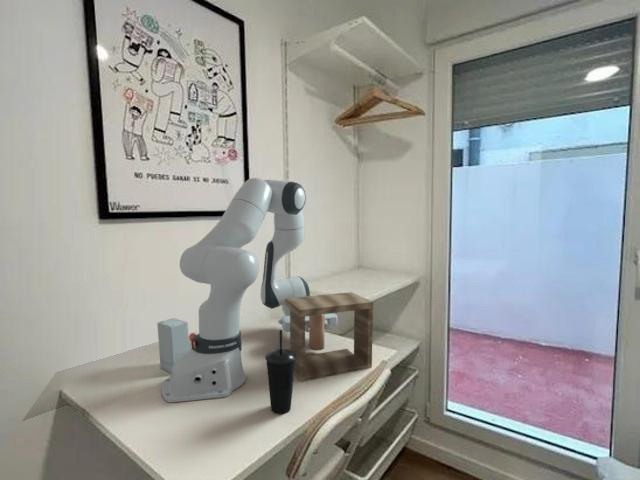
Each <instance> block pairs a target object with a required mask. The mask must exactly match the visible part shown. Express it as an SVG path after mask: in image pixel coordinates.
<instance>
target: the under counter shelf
mask: <svg viewBox="0 0 640 480" xmlns="http://www.w3.org/2000/svg"><path fill="white" fill-rule="evenodd" d="M285 305H286V306H287V307H289V308H290V332H289V350H291V351H293V352H295V353H296V355H297V357H296V359H295V367H294V375H295V376H294V377H296V378H297V380H298V381H299V382H305V381H310V380H316V379H321V378H326V377H331V376H335V375H340V374H346V373H351V372H354V371H355V372H356V371H361V370H366V369H371V368H373V366H372V365H373V333H374V332H373V330H374V329H373V323H374V322H373V320H374V319H373V318H374V301H372V300H370V299H368V298H366V297H363V296H361V295H359V294H357V293H354V292H352V291H349V292H348V291H347V292H339V293H330V294H329V293H327V294H320V295H310V296H306V297H296V298H286V299H285ZM345 312H353V313H354V314H353V315H354V317H353V320H354V322H353V323H354V324H353V327H354V328H353V352H352V351H350V349H348V348H343V349H337V350H332V351H326V352H321V353H320V352H318V353H315V354H308V355H306V331H305V316H313V315H322V314H330V313H334V314H336V313H345Z"/></svg>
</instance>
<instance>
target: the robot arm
mask: <svg viewBox="0 0 640 480" xmlns="http://www.w3.org/2000/svg"><path fill="white" fill-rule="evenodd" d="M306 196H307V195H306V191H305V189H304V187H303V186H302V184H301V183H298V182H295V181H283V180H276V179H264V180H263V179H261V178H259V177H258V178H257V177H252V178H249V179H247V180H246V181H245V182H244V183H243V184H242V185H241V187H240V188H238V190H237V192H236V193H235V194H234V196H233V198H232V200H231V201H230V203H229V205H228V206H227V207H226V210H225V211H224V213H223V214H222V216H221V218H220V220H219V221H218V222H217V223H216V225H215V226H214V227H213V228H212V229H211V230H210V231H209V232H208V233H207V234H206V235H205V236H204V237H203V238H202V239H201V240H199V241H198V242H196V243H195V244H194V245H192V246H190V247H188V248H186V249H185V250H184V251H183V252H182V254H181V256H180V259H179V269H180V271H181V273H182V274H183V276H185V277H186V278H188V279H189V280H192V281H194V282H196V283H199V284H207V285H210V291H209V296H208V298H207V299H206V300H205V301H203V302H202V303H201V304H200V305H199V308H198V333H197V334H196V333H194V332H191V333H189V334H188V337H189V342H191V343H190V345H191V349H190V348H189V351H188V352H187V353H185V354H184V355H183V356H182V357H181V358H179V359H178V360H177V361H176V362H175V363H174V365H173V368H172V371H171V373H170V375H169V376H168V377H166V378H165V379H164V381H163V382H162V384H161V385H162V386H161V396H162V397H161V398H162V399H163V400H165V401H166V403H178V402H188V401H197V400H199V401H200V400H208V399H217V398H219V399H220V398H227V397H228V396H230V395H231V393H232V392H233V391H234V390H236V389H238V388H239V387H241V386H242V385H243V384H244V383H245V382H246V379H247V376H246V374H245V371H244V370H245V369H244V366H243V360H242V344H243V342H242V341H243V340H242V339H243V337H242V332H241V329H240V316H241V315H240V314H241V310H240V309H241V304H242V299H243V296H244V294H245V293H246V290H247V289H248V288H249V287H250V286H251V285H253V284H254V283H255V281H256V280H257V278H258V275H259V272H260V265H259V260H258V257H257V256H256V254H254V253H253V252H251V251H249V250H246V249H244V248H242V247H244V246H246V245H248V244H251V242H252V241H254V239H255V238H256V235H257V233H258V232H259V230H260V228H261V226H262V223H263V221H264V220H265V217H266V215H267V213H272V214H273V215H274V217H273V224H274V228H273V229H274V232H273V236H272V238H271V240H270V241H269V242H268V243H267V245H266V248H265V254H264V262H263V264H264V266H263V274H262V282H261V286H260V287H261V288H260V300H261V303H262V305H264V306H265V307H267V308H269V309H270V310H271V309H272V310H273V309H275V308H279V307H280V306H281V310H282V312H283V314H284V316H283V317H282V318H280V319H278V321H277V323H279V325H281V328H282V331H284V332H286V333H290V308H289V307H287V306H286V305H285V299H286V298H296V297H306V296H311V293H310V287H309V285H308V283H307V281H306V280H305V279H304V278H303V277H301V276H293V277H289V278H284V279H279V280H276V276H277V275H276V274H277V265H278V263H279V261H280V260H281V259H282V258H283V257H284V256H285V255H287V254H289V253H291V252H293V251H294V250H296V249H298V247H299V246H301V244H302V243H303V241H304V239H305V232H306V231H305V218H304V212H303V208H304V207H305V204H306V200H307V197H306ZM337 325H338V315H337V314H336V313H330V314H324V331H325V330H329V329H330V328H329V327H336V326H337ZM310 329H311V327H310V326H309V316H305V333H309V332H310V331H311V330H310Z"/></svg>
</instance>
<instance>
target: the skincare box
mask: <svg viewBox="0 0 640 480" xmlns="http://www.w3.org/2000/svg"><path fill="white" fill-rule="evenodd" d="M156 325H157V338H158V349H159V350H158V351H159V364H160V366H159V367H160V369H163V370H165V371H166V372H169V373H170V374H171V371H172V368H173V365H174V363H175V362H176V361H177V360H178V359H179V358H181V357H182V356H183V355H184V354H185V353H187V352H188V351H189V350H190V340H189V325H188V321H186V320H182V319H179V318H175V317H171V318H168V319H165V320H161V321H158V322H157V323H156Z"/></svg>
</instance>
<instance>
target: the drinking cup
mask: <svg viewBox="0 0 640 480" xmlns="http://www.w3.org/2000/svg"><path fill="white" fill-rule="evenodd" d="M278 331H279V333H278V335H279V336H278V337H279V348H277V349H274V350H271V351H269V352H267V353H266V354H265V356H264V358H265V361H266V369H267V370H266V371H267V379H268V390H269V399H270V400H269V401H270V411H271V412H272V413H273V414H276V415H284V414H287V413H289V412H290V411H291V407H292V398H293V388H294V387H293V386H294V377H295V376H294V375H295V374H294V367H295V359H296V357H297V355H296V353H295V352H293V351H291V350H290V349H287V348H283V329H279V330H278Z"/></svg>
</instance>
